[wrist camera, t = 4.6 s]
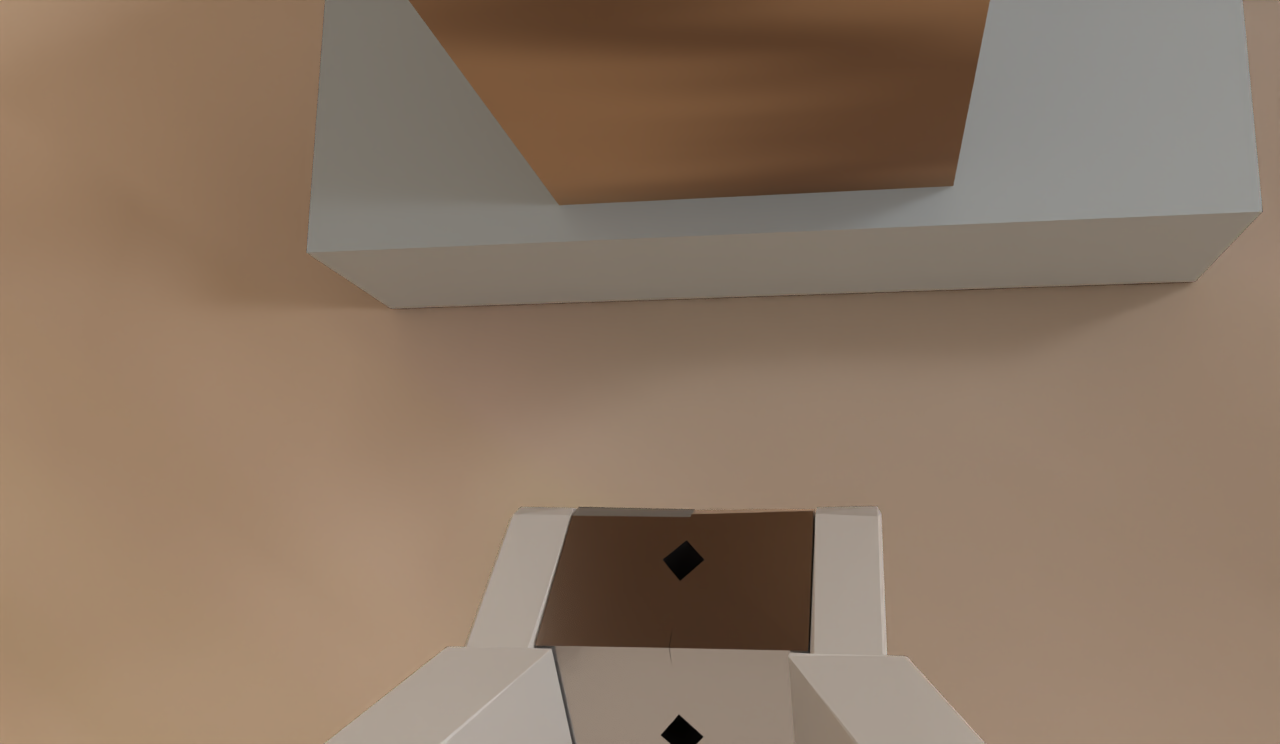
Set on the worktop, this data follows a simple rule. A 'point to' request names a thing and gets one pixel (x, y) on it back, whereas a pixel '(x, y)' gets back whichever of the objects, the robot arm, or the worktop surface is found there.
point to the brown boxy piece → (721, 91)
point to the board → (808, 222)
